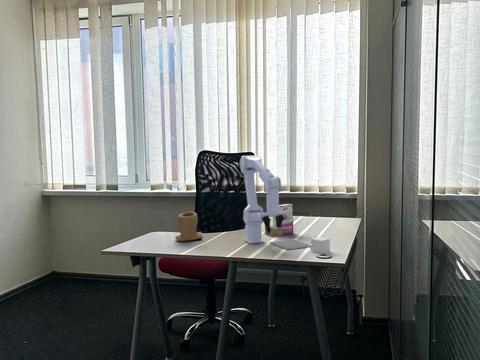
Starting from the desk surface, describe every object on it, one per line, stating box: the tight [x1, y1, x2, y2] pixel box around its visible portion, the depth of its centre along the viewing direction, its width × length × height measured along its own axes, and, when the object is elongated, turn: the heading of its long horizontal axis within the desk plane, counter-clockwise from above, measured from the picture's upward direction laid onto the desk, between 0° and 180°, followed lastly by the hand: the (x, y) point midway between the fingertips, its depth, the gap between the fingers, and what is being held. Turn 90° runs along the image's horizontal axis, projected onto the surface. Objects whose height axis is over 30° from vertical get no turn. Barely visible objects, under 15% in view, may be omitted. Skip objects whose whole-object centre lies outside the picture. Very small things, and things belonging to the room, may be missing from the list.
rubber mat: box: [269, 239, 311, 251], centre depth 223 cm, size 18×14×1 cm
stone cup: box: [175, 211, 204, 242], centre depth 240 cm, size 15×12×15 cm
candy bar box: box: [272, 203, 294, 237], centre depth 250 cm, size 11×5×16 cm, turn 126°
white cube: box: [310, 236, 331, 255], centre depth 207 cm, size 6×6×6 cm
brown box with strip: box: [264, 225, 283, 239], centre depth 213 cm, size 9×4×4 cm, turn 22°
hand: (273, 231), depth 213 cm, fingers closed on brown box with strip, 4 cm apart
